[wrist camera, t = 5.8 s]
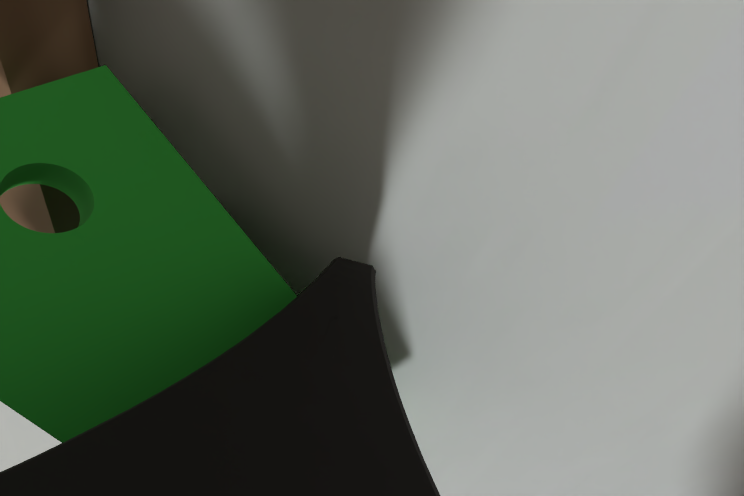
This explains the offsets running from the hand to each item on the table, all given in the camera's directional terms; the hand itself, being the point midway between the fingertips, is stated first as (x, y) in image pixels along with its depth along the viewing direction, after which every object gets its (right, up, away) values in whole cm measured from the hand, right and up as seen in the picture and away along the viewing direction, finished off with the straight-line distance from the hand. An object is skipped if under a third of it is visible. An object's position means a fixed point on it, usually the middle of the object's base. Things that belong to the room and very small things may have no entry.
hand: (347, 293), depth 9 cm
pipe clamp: (-3, 0, +1) cm, 3 cm away
